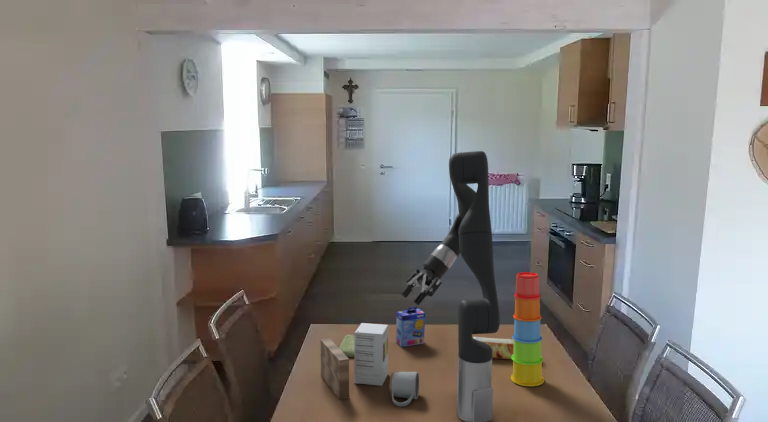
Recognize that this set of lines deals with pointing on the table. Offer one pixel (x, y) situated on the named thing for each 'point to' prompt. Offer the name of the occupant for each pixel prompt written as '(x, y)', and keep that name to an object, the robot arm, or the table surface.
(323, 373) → the wooden board
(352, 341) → the washcloth
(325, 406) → the table surface
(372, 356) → the supplement box
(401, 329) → the ink cartridge box
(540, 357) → the stacking cups
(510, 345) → the snack package
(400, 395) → the ceramic mug
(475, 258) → the robot arm
